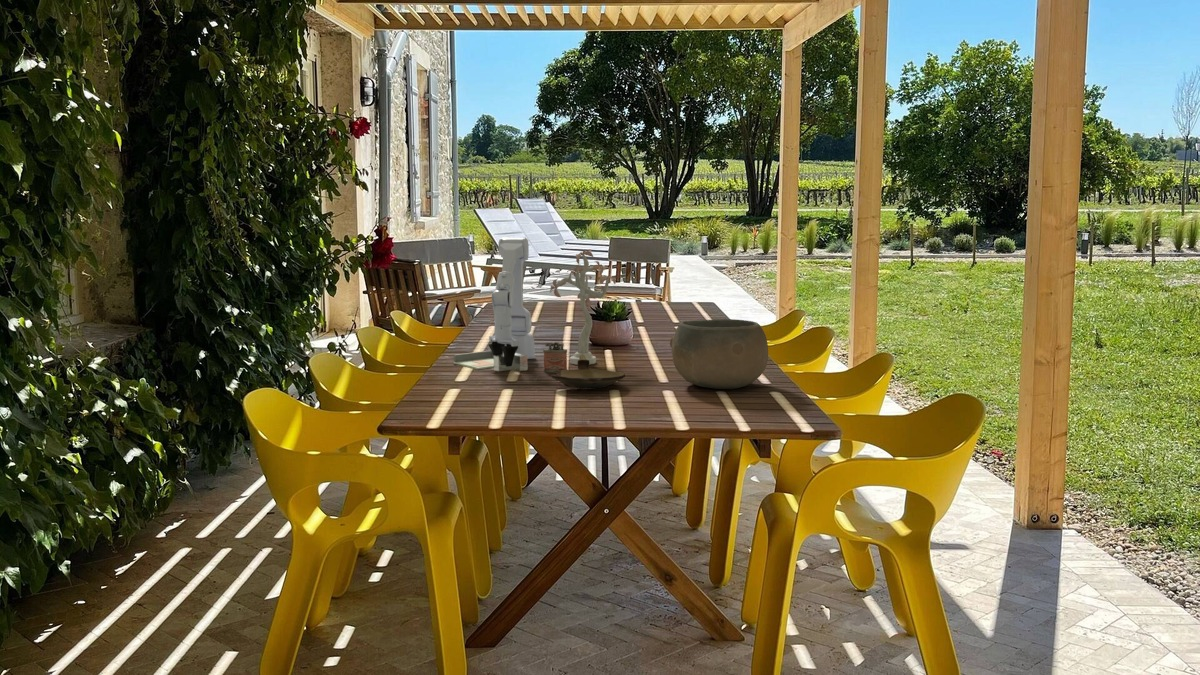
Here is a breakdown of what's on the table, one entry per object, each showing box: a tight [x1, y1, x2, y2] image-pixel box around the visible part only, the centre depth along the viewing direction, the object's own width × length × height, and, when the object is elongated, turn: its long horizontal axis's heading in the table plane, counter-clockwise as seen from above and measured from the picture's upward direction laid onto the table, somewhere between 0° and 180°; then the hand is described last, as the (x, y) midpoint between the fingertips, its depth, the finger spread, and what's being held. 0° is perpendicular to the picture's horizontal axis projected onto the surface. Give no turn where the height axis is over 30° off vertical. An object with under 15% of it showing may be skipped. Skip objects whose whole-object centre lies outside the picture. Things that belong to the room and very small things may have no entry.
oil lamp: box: [550, 354, 626, 390], centre depth 307 cm, size 22×30×8 cm
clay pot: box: [669, 318, 769, 390], centre depth 305 cm, size 30×30×20 cm
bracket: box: [493, 353, 528, 372], centre depth 337 cm, size 9×7×5 cm
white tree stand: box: [549, 249, 617, 366], centre depth 350 cm, size 28×24×40 cm
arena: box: [453, 349, 504, 370], centre depth 349 cm, size 16×16×3 cm
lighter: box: [542, 341, 568, 373], centre depth 333 cm, size 8×3×10 cm, turn 84°
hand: (503, 365), depth 337 cm, fingers open, 6 cm apart
